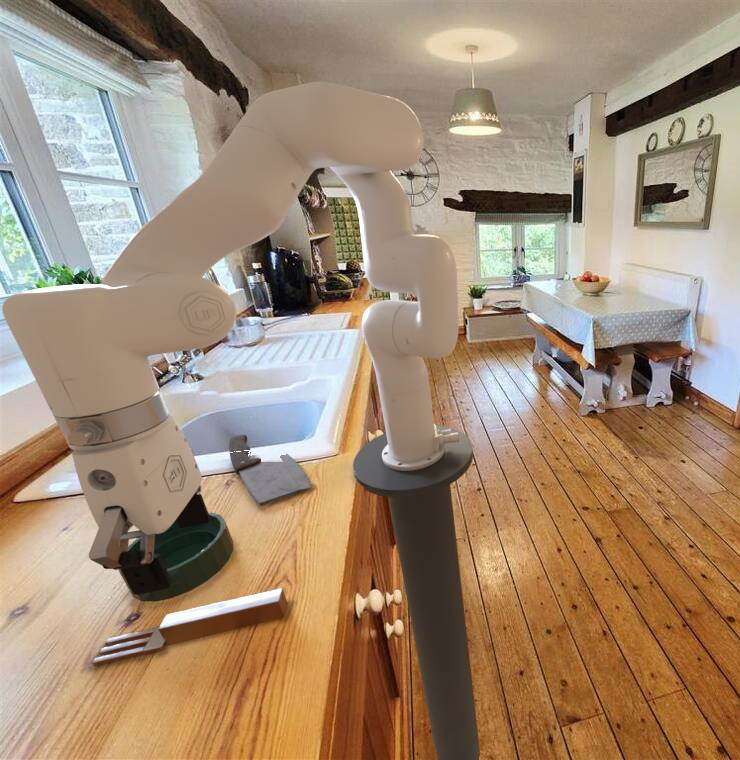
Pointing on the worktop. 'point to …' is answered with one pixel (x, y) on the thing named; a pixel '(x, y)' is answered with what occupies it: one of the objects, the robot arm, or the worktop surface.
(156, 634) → the fork
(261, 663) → the worktop surface
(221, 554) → the bowl
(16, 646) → the worktop surface
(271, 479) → the cleaver
